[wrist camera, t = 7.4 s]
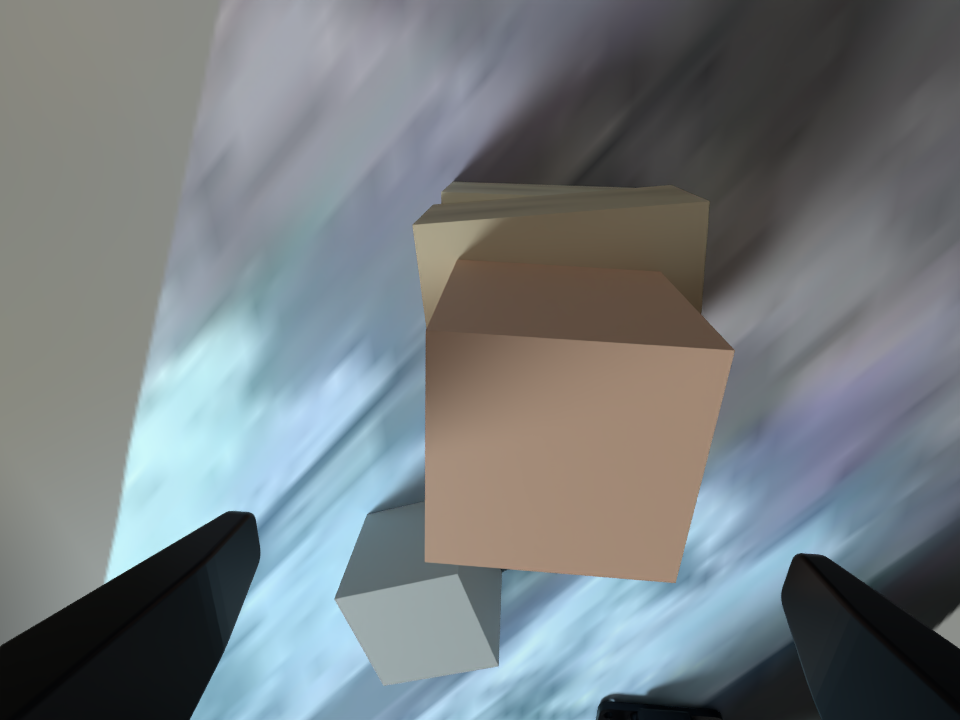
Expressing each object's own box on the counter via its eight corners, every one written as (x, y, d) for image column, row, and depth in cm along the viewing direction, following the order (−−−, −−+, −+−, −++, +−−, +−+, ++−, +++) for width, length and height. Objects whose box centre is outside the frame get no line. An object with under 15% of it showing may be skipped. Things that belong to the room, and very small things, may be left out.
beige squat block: (660, 398, 19) (690, 456, 15) (457, 408, 19) (445, 465, 16) (671, 184, 16) (709, 201, 13) (433, 204, 16) (412, 225, 13)
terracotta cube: (660, 271, 13) (734, 350, 9) (628, 445, 15) (675, 582, 11) (457, 259, 14) (425, 330, 9) (452, 432, 16) (424, 562, 11)
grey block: (501, 571, 26) (498, 666, 22) (406, 591, 27) (383, 686, 23) (468, 489, 24) (457, 573, 20) (367, 513, 25) (334, 599, 21)
